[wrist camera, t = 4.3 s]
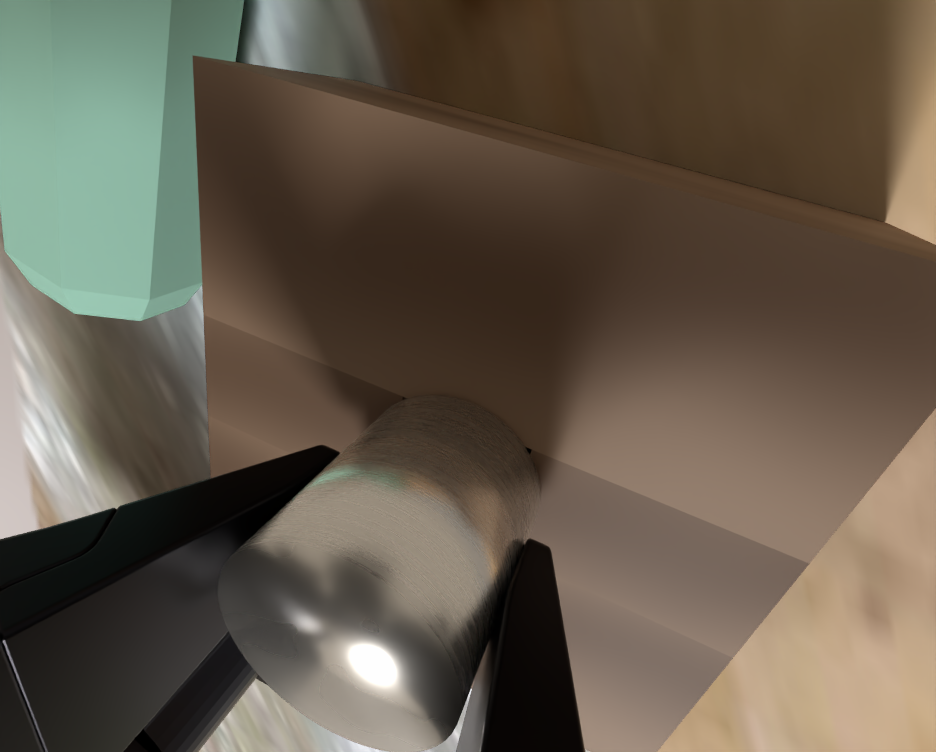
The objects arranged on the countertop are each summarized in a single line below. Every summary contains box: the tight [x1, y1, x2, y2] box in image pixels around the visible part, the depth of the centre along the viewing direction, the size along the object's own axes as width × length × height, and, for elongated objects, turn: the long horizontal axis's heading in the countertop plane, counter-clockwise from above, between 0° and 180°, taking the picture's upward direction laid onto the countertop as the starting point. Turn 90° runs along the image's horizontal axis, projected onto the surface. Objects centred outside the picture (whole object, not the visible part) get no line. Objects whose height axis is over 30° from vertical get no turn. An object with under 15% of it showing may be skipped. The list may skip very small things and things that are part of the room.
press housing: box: [192, 55, 936, 752], centre depth 12 cm, size 12×12×5 cm
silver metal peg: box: [218, 394, 541, 752], centre depth 10 cm, size 4×4×8 cm
